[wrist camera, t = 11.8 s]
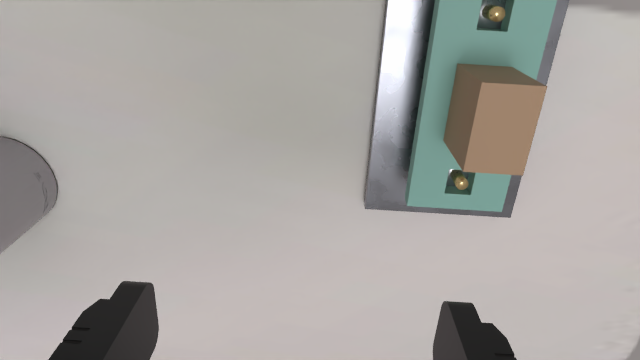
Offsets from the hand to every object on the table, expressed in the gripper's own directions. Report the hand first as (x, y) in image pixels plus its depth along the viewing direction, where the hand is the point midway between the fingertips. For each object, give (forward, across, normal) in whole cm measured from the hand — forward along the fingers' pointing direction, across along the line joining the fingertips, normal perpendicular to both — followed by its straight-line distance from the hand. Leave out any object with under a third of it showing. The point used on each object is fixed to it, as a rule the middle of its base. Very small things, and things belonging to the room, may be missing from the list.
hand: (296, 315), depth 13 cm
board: (+26, -12, 0) cm, 28 cm away
